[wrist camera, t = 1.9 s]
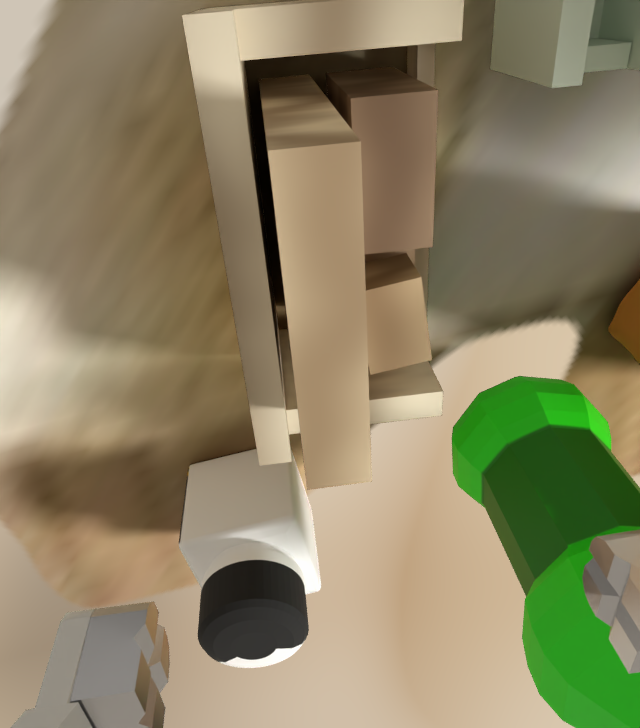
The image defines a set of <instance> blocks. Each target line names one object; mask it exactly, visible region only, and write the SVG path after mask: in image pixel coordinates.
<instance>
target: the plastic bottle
mask: <svg viewBox="0 0 640 728" xmlns="http://www.w3.org/2000/svg"><path fill="white" fill-rule="evenodd" d="M452 456H453V474H454V476H455V479H456V481H457V484H458V486H459V487H460V488H461V489H463V490H464V491H465V492H466V493H467V494H468V495H470V496H471V497H472V498H473V499H474V500H476V501H477V502H478V503H480V504H481V505H482V506H483V507H485V508H486V510H487V513H488V515H489V517H490V519H491V521H492V523H493V526H494V528H495V530H496V532H497V534H498V536H499V538H500V541H501V543H502V545H503V547H504V549H505V551H506V553H507V556H508V558H509V560H510V562H511V564H512V566H513V569H514V571H515V573H516V575H517V577H518V580H519V581H520V584H521V586H522V588H523V590H524V593H525V595H526V599H525V606H524V620H523V634H522V639H523V644H524V649H525V654H526V660H527V665H528V667H529V670H530V673H531V675H532V677H533V680H534V682H535V685H536V687H537V689H538V692H539V694H540V695H541V696H542V697H543V699H544V700H545V701H546V702H547V703H548V704H549V705H550V707H551V708H552V709H553V710H554V711H555V712H556V713H557V714H558V716H559V717H560V718H561V719H562V720H563V721H565V722H566V723H568V724H570V725H572V726H574V727H575V728H640V672H638V673H630V674H629V673H628V671H627V669H626V668H625V666H624V664H623V663H622V661H621V659H620V657H619V656H618V654H617V652H616V651H615V649H614V647H613V645H612V644H611V642H610V640H609V633H610V626H609V625H608V624H606V623H605V622H603V621H602V620H600V619H599V618H597V617H596V616H595V614H594V612H593V610H592V609H591V607H590V605H589V603H588V600H587V598H586V595H585V592H584V586H583V580H582V576H583V571H584V566H585V565H586V564H587V563H588V562H589V561H590V560H591V559H592V558H593V556H592V554H591V552H590V551H589V548H590V544H591V541H592V540H593V539H594V538H595V537H596V536H602V535H608V534H615V533H621V532H627V531H633V530H639V529H640V488H639V486H638V485H637V484H636V483H635V481H634V480H633V479H632V478H631V476H630V475H629V474H628V472H627V471H626V470H625V469H624V467H623V466H622V465H621V464H620V462H619V461H618V460H617V459H616V457H615V456H614V455H613V454H612V452H611V435H610V430H609V425H608V422H607V421H606V420H605V418H604V417H603V416H602V415H601V414H600V413H599V411H598V410H597V409H596V408H595V407H594V406H593V405H592V404H591V403H590V402H589V400H588V399H587V398H586V397H585V396H584V395H583V394H582V393H581V392H580V391H579V390H578V389H577V387H576V386H575V385H574V384H571V383H568V382H566V381H563V380H559V379H547V378H535V377H523V376H518V377H514V378H512V379H510V380H507V381H505V382H503V383H501V384H499V385H496V386H494V387H492V388H490V389H487V390H485V391H483V392H481V393H479V394H478V395H477V397H476V398H475V399H474V401H473V402H472V403H471V405H470V406H469V407H468V409H467V410H466V411H465V412H464V414H463V415H462V416H461V417H460V419H459V420H458V421H457V423H456V424H455V425H454V427H453V433H452Z"/></svg>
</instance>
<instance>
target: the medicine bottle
mask: <svg viewBox="0 0 640 728" xmlns="http://www.w3.org/2000/svg"><path fill="white" fill-rule="evenodd" d="M290 449H291V446H290ZM291 459H292V462H286V463H278V464H270V465H262V466H260V465H259V459H258V453H257V449H253V450H249V451H245V452H241V453H237V454H233V455H229V456H224V457H220V458H216V459H212V460H208V461H204V462H200V463H196V464H192V465H190V466H189V468H188V474H187V482H186V490H185V498H184V506H183V514H182V522H181V530H180V538H179V548H180V550H181V552H182V554H183V556H184V557H185V559H186V561H187V563H188V565H189V567H190V568H191V570H192V572H193V574H194V576H195V578H196V579H197V581H198V583H199V585H200V587H201V602H200V614H199V627H198V640H199V643H200V645H201V647H202V648H203V649H204V650H205V651H206V653H207V654H208V655H209V656H210V657H212V658H213V659H214V660H216V661H218V662H220V663H222V664H225V665H229V666H233V667H240V668H257V667H264V666H269V665H272V664H275V663H278V662H280V661H283V660H285V659H287V658H288V657H290V656H291V655H293V654H294V653H295V652H296V651H297V650H298V649H299V648H300V647H301V645H302V644H303V642H304V641H305V640H306V637H307V635H308V630H309V629H308V617H307V607H306V596H305V594H308V593H313V592H317V591H319V590H320V588H321V580H320V572H319V564H318V557H317V548H316V540H315V532H314V524H313V516H312V509H311V506H310V503H309V500H308V497H307V494H306V491H305V488H304V485H303V482H302V479H301V476H300V473H299V470H298V467H297V464H296V461H295V458H294V455H293V452H292V449H291Z"/></svg>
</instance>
